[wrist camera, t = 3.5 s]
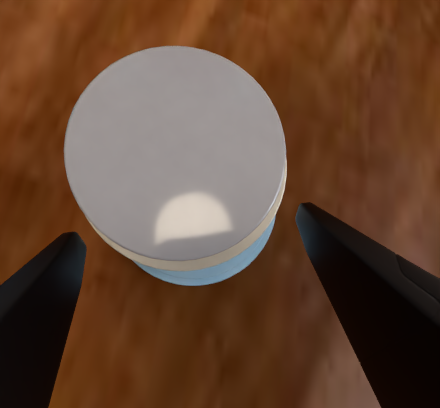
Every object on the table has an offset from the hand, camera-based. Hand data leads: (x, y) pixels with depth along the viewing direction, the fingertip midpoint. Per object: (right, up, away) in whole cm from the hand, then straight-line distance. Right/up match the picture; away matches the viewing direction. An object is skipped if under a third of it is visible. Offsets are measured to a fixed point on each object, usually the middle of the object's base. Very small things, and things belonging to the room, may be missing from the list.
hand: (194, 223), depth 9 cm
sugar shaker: (-1, +1, +7) cm, 7 cm away
